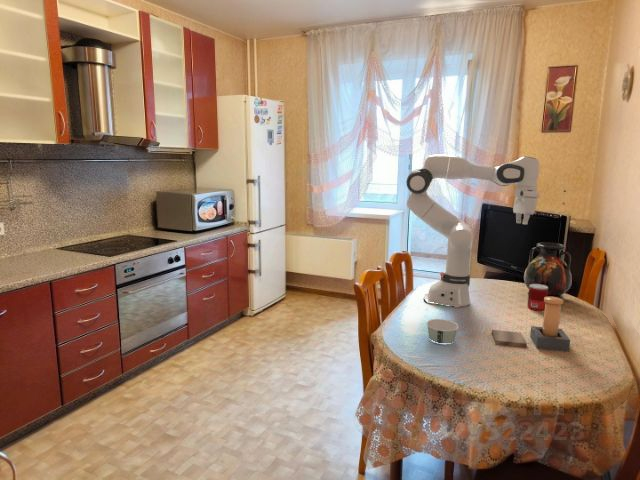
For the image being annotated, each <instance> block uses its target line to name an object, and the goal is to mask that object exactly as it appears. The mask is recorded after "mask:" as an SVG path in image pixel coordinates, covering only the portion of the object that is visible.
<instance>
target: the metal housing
mask: <svg viewBox="0 0 640 480" xmlns="http://www.w3.org/2000/svg"><path fill="white" fill-rule="evenodd" d="M542 331H543V326H530V332H529V333H530V334H529V338H530V339H531V341H532V344H533V345H534V346H535V348H536V349H540V350H549V351H559V352H560V351H561V352H570V346H571V339H570V338H569V336H568V335H567V334H566V333H565V331H564V330H563V329H562V328H558V336H557V337H555V336H544V335H542Z"/></svg>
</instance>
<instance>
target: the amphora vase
mask: <svg viewBox="0 0 640 480" xmlns="http://www.w3.org/2000/svg"><path fill="white" fill-rule="evenodd" d="M566 247H567V246H565V245H564V244H561V243H556V242H538V243H536V247H535V246H534V247H532V248H531V250H530V251H529V256H528V257H529V259H528V265H527V267H526V268H525V271H524V274H523V280H524V284H525V286H526V288H527V289H528V290H529V286H530V284H541V285H545V286H547V287H548V295H547V297H557V298H561V299H563V300H564V299H565V297H564V294H565V293H568V291H569V289H570V288H571V286H572V282H573V281H572V280H573V278H572V273H571V261H572V256H571V254H570V253H569V252H568V251H562V250H565V249H566ZM535 251H537V256H536V257H535V258H534V259H533V257H534V256H533V254H534V252H535ZM561 251H562V252H561ZM563 255H566V258H567V261H564V259H563ZM527 295H529V291H528V292H527Z"/></svg>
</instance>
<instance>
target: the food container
mask: <svg viewBox="0 0 640 480" xmlns="http://www.w3.org/2000/svg"><path fill="white" fill-rule="evenodd" d="M426 326H427V330H428V332H427V333H428V339H429V338H430V339H431V340H433V341H435V342H438V343H452V342H453V341H454V342H455V339H456V336H457V335H456V334H457V331H458V330H459V325H458V324H457V323H456V321H455V322H454V321H451V320H448V319H445V318H444V319H443V318H433V319H429V320H428V321H426ZM454 342H453V343H454Z"/></svg>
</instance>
